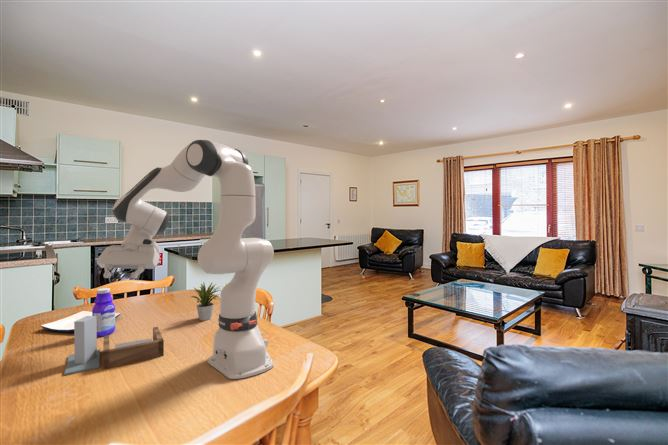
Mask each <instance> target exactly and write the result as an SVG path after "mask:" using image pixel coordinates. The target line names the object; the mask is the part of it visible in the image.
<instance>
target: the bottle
mask: <svg viewBox="0 0 668 445" xmlns="http://www.w3.org/2000/svg"><path fill="white" fill-rule="evenodd" d="M113 300H114V299H113V297H112V295H111V288H110V287H103V288H101V287H100V288H98V289H96V297H95V299H94V301H93V303H94V305H93V306H92V307H93V308H92V310H91V312H92V316H96V321H97V337H101V338H102V337H104V336H107V335H110V334H113V333H114V332H115V330H116V318H115V313H116V305H115V304H114V302H113Z"/></svg>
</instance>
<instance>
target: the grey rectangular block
mask: <svg viewBox="0 0 668 445" xmlns="http://www.w3.org/2000/svg"><path fill="white" fill-rule="evenodd" d="M73 333H74V337H73V338H74V343H73V344H74V354H75V364H85V363H87V362H88V361H90V360H91V359H93V358H95V357H96V356H97V350H98V344H97V342H98V341H97V339H98V338H97V337H98V336H97V321H96V316H86V317H84V318H81V319H79V320H77V321H74V332H73Z"/></svg>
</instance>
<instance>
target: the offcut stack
mask: <svg viewBox="0 0 668 445" xmlns="http://www.w3.org/2000/svg"><path fill="white" fill-rule="evenodd" d="M150 341H153V338H146V339H139V340H134V341H128V342H122V343H115V345H114V348H113V349H115V348H120V347H125V346H130V345H135V344H140V343H145V342H150Z"/></svg>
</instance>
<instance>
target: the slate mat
mask: <svg viewBox="0 0 668 445" xmlns="http://www.w3.org/2000/svg"><path fill="white" fill-rule="evenodd" d="M100 358H101V349H98V348H97V356H96V357H95V358H93V359H91V360H90V361H88V362H87V363H85V364H75V353H73V354H69V355H68V358H67V363H66V366H65V369H64V376H68V375H73V374H77V373H78V374H79V373H84V372H87V371H92V370H96V369H100V362H101V360H100Z"/></svg>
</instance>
